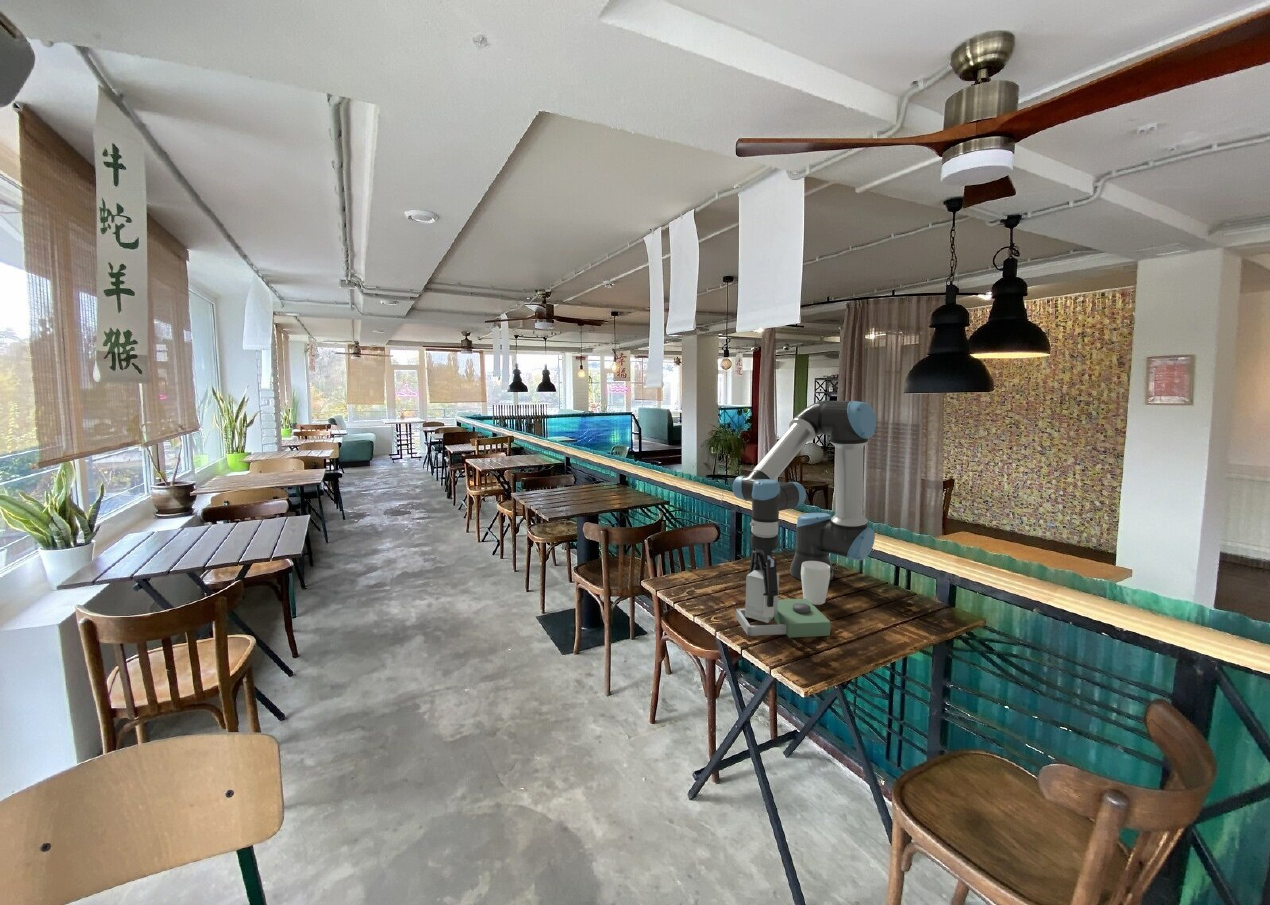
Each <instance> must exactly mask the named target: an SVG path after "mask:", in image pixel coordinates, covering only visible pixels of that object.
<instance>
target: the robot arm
mask: <svg viewBox="0 0 1270 905" xmlns="http://www.w3.org/2000/svg"><path fill="white" fill-rule="evenodd" d="M876 428H877V418H876V414H875V411H874V409H873V407H872V406H871V405H870V404H869V403H867V402H864V401H857V400H820V401H817V402H815V403H812V404H811V405H808V406H807V407H805V408H804V409H803V410H801V411H800V412H799V413H797V414H796V415H795V417H793V418H792V420H791V421H790V422H789V425H788V429H787V430H786V432H784V433H783V435H782V436H781V437H780V438H779V439H778V441H776V443H775V444H774V445H773V446H772V447H771V448H770V450H769V451H768V452H767V453H766V454H765V455H764V457H763V458H762V459H761V460H760V461H759V462H758V463H757V465H755V467H754V468H753V469H752V470H751V471H750V473H749V474H748V475H739V476H737V477H735V479H734V480H733V483H732V493H733V495H734V497H736V498H737V499H740V500H742V501H745V502H751V522H750V523H749V526H750V528H751V529H750V530H751V534H750V546H751V557H750V563H749V564H750V565H749V572H748V574H750V573H751V572H752V571H754V570H761V571H762V572H763V579H764V586H765V593H764V594H763V595H764V610H763V616H764V617H774V596H778V597H779V593H778V585H777V573H778V571H777V570H778V569H777V562H778V561H777V559H776V558H773V551H774V550H777V549H778V548H779V546H778V545H779V544H778V543H779V536H778V534H779V527H780V519H779V516H780V515H779V514H780V512H781V511H785V510H789V509H795V508H797V507H800V506H801V505H803V504H804V503H805V501H806V499H807V492H806V488H805V487H804V486H803V485H802V484H801V483H799V482H797V481H788V482H782V481H778V480H777V479H778V478H779V476H780V475H781V474H782V472H784V471H785V469H786V468H787V467H788V466H789V465H790V463H791V462H792V461H793V459H795V457H796V456H797V455H798V454H799V452H800V451H801V450H802V449H803V448H804V446H806V444H807V443H809V442H812V441H813V440H814V439H815V438H816V437H818V436H822V435H825V436H829V437H830V442H829V443H831V444H832V445H833V446H834V452H835V453H834V457H835V458H834V463H835V464H834V466H835V467H834V468H835V469H834V472H835V473H834V474H835V475H834V476H835V477H834V480H835V481H834V482H835V483H834V484H835V490H834V491H835V497H834V498H835V504H834V505H835V514H833V516H832V515H831V514H829V513H826V512H806V513H803V514H800V515H798V517H797V520H796V526H795V527H796V532H795V535H796V536H795V553H794V556H793V558H792V562H791V564H790V567H789V574H790V576H792V577H793V578H794V579H797V580H799V581H800V580H801V567H802V563H803V562H805V561H819V562H823V563H826V564H828V565H829V566H830V580H829V582H830V581H832V580H833V578H834V570H833V566H832V561H831V560H830V559H831V558H830V554H831V555H832V554H833V555H836V556H838V557H843V558H846V559H848V560H856V561H863V560H864V559H866V558H867V557H868V556H869V555H870V554H871V551H872V549H873V547H874V544H875V540H876V534H875V530H874V529H872V528H871V527H868V526H869V525H868V519H867V517H865V516H864V514H863V513H864V512H863V511H864V510H863V508H864V504H863V503H864V501H863V500H864V447H865V445H867V444H868V443H869V439H870V438H872V437H873V435H875V432H876ZM801 581H802V580H801Z"/></svg>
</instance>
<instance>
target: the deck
mask: <svg viewBox="0 0 1270 905" xmlns="http://www.w3.org/2000/svg"><path fill="white" fill-rule="evenodd" d="M734 615H735V619H736V620H737V621H738V623H739V625H740V626H741V627H742V629H743V630H744V632H745V634H746V635H747V637H753V636H755V637H756V636H771V635H772V636H773V635H775V636H776V635H785V636H787V637H788V638H790V639H791V638H804V637H805V638H806V637H826V636H831V625H832V622H831V620H829V619H828V618H827V617H826V616H825V615H824V614H823V613H822V612H821V610H819V609H818V608H817V607H816V605H814V604H811V603H810V602H809V601H808V600H807V599H803V598H790V599H788V598H787V599H786V598H785V599H778V614H777V615H776V616H774V617H773V618H772V620H774V621H775V623H776V624H759V625H758V624H755V625H751V624H750V622H749V621H748V620H747V619H749V617H746V616H745V608H735V614H734Z"/></svg>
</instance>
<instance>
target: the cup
mask: <svg viewBox="0 0 1270 905" xmlns="http://www.w3.org/2000/svg"><path fill="white" fill-rule="evenodd" d="M829 580H830V566H829V565H828V564H826V563H823V562H819V561H805V562H803V563H802V567H801V588H802V597H803V598H802V599H807V600H808V601H809V602H810V603H811V604H812V605H814V606H821V605H824V604H825V603H826V599H827V595H828V589H829V585H830V581H831V580H830V581H829Z"/></svg>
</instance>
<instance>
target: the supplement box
mask: <svg viewBox="0 0 1270 905" xmlns="http://www.w3.org/2000/svg"><path fill="white" fill-rule="evenodd" d="M777 585H778V594H779V588H780V587H779V586H780V572H777ZM764 593H765V586H764V579H763V572H762V571H761V570H754V571H753V570H752V572H751V573H750V574H749V573H748V574H747V575H746V578H745V604H744V605H745V608H744V609H745V616H746V617H749V618H750V619H753V620H756V621H760V622H763V623H767V624H768V623H770V622H771V620H773V617H764V616H763V610H764V595H763V594H764ZM778 600H779V595H778V596H774V616H776V615H777V614H778ZM749 618H748V619H749Z"/></svg>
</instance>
